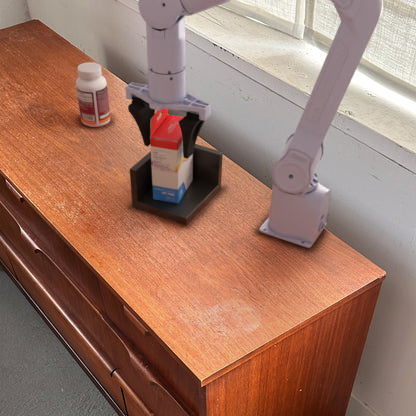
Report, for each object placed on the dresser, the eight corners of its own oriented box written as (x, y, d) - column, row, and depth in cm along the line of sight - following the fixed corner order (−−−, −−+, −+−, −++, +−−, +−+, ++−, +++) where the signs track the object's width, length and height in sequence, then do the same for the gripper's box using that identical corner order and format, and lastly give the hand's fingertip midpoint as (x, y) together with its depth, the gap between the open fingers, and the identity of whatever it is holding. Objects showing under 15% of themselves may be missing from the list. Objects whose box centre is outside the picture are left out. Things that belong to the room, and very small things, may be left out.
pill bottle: (106, 112, 134) (101, 58, 126) (113, 125, 130) (108, 71, 122) (78, 116, 132) (70, 62, 124) (84, 129, 129) (77, 75, 120)
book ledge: (221, 189, 115) (222, 151, 110) (186, 225, 108) (186, 187, 102) (169, 172, 119) (168, 135, 113) (132, 207, 111) (129, 169, 105)
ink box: (178, 205, 109) (177, 124, 98) (151, 199, 110) (148, 119, 99) (193, 179, 115) (194, 100, 104) (168, 174, 115) (166, 96, 104)
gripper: (111, 65, 95) (119, 148, 105) (195, 87, 90) (194, 172, 101) (137, 49, 99) (141, 130, 109) (218, 69, 95) (215, 152, 105)
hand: (168, 149), depth 105 cm, fingers open, 7 cm apart
